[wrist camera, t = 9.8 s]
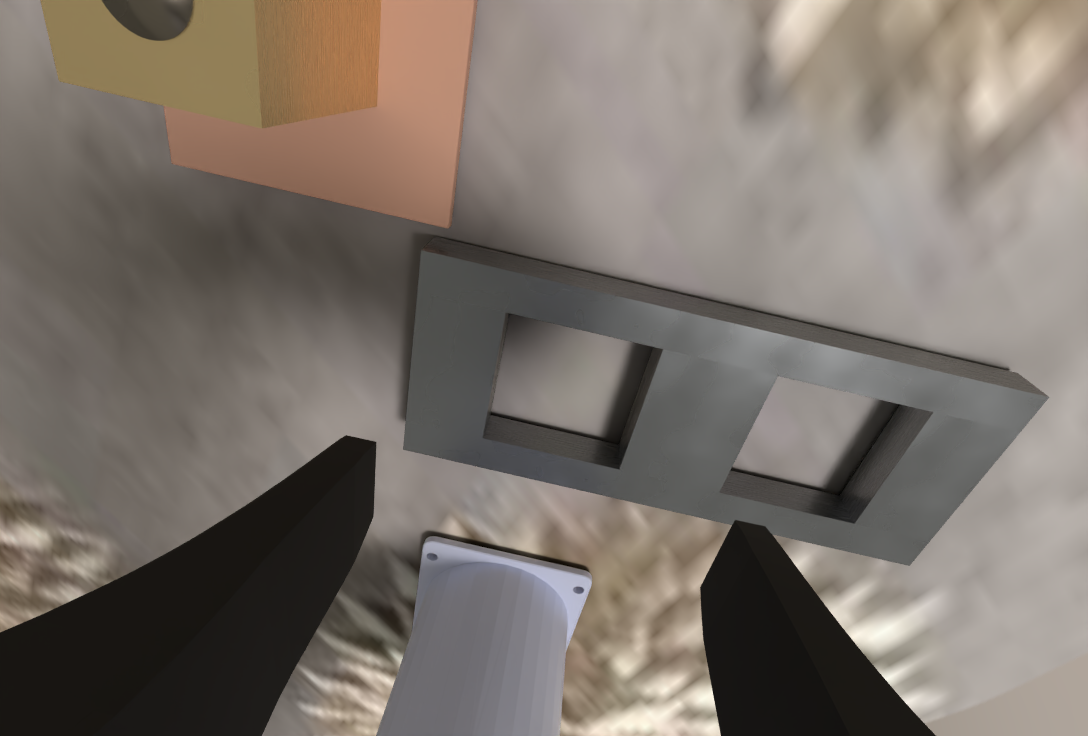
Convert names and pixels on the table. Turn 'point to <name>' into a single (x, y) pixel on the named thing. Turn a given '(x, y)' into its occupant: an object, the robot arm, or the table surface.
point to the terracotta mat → (362, 126)
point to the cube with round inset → (223, 54)
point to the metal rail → (704, 403)
